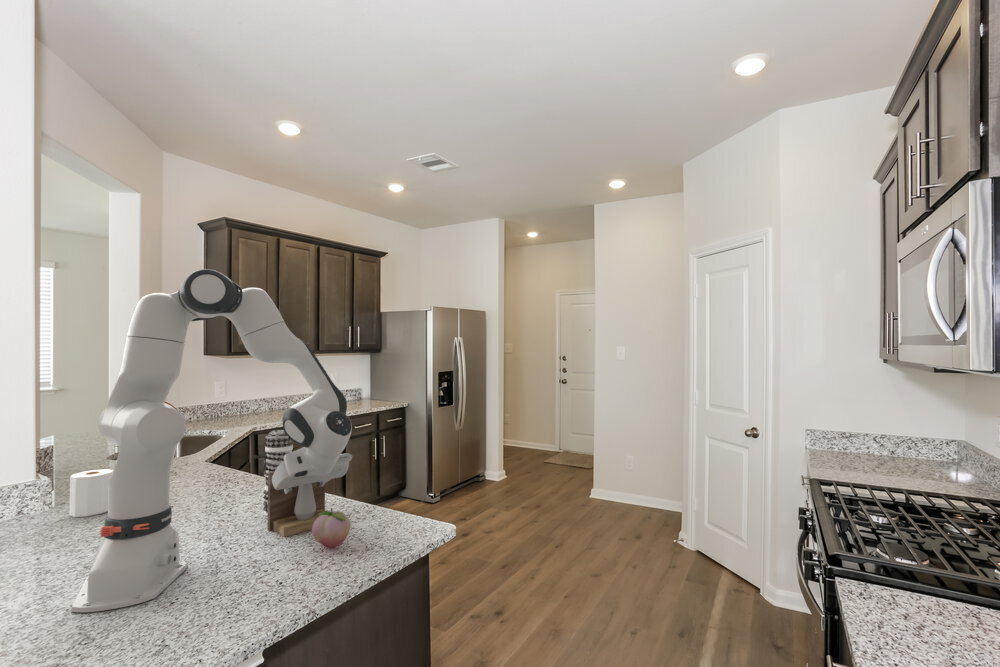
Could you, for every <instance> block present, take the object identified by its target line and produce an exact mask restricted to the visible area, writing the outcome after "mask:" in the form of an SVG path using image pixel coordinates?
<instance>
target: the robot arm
mask: <svg viewBox="0 0 1000 667" xmlns="http://www.w3.org/2000/svg"><path fill="white" fill-rule="evenodd" d="M137 302H138V303H137V304H136V307H135V310H134V311H133V313H132V317H131V320H130V324H129V326H128V330H127V331H128V332H127V336H126V340H125V344H124V345H125V346H124V349H123V355H122V360H121V363H120V369H119V373H118V376H117V379H116V381H115V384H114V387H113V389H112V391H111V393H110V395H109V398H108V401H107V404H106V406H105V408H104V409H103V411H102V412H101V413H100V416H99V418H98V423H97V426H98V427H97V428H98V429H99V432H100V434H101V435H102V437H103V438H104V439H105V440H106V441H107V442H109V443H110V444H112V445H114V446H117V447H118V452H117V454H118V455H117V458H116V463H115V466H114V469H113V470H114V472H113V474H112V476H111V477H110V479H109V487H108V511H107V516H106V517H105V518H104V519H105V520H104V523H103V526H102V527H101V529H100V530H99V531H100V532H99V534H100V537H101V538H102V537H103V538H102V539H101V540H100V541H99V546H98V547H97V550H96V553H95V555H94V558H93V561H92V563H91V566H90V569H89V573H88V575H87V577H86V578H85V579H84V582H83V583H82V585H81V587H80V589H79V591H78V593H77V595H76V597H75V599H74V600H73V602H72V604H71V610H70V612H72V613H94V612H95V613H96V612H102V611H110V610H114V609H119V608H125V607H130V606H135V605H138V604H142V603H145V602H148V601H150V600H154V599H156V598H157V597H158V596H159V595H160V594H162V592H163V591H165V590H166V589H167V588H168V587H169V586H170V585H171V584H172V583H173V582H174V581H175V580H176V579H177V578H179V576H180V575H181V574H183V573H184V572H185V571H186V570H187V569H188V568H189V567H188V563H187V561H181V560H180V559H181V557H180V536H179V531H178V530H176V529H175V528H174V527H173V526H172V525H171V522H172V516H173V511H172V506H171V505H170V494H171V493H170V491H171V490H170V488H171V473H172V472H171V470H172V467H173V466H172V465H173V461H174V459H175V455H176V450H177V447H178V444H179V443H180V442H181V441H182V439H183V437H184V436H185V433H186V430H187V423H186V418H185V417H184V415H183V414H182V413H181V412H180V411H179V410H178V409H177V408H175V407H173V406H172V405H170V404H168V403H165V402H166V400H167V398H168V395H169V392H170V390H171V388H172V387H173V385H174V383H175V382H176V381H177V379H178V378H179V376H180V372H181V368H182V360H183V354H184V350H185V343H186V336H187V333H188V332H187V331H188V329H189V325H190V324H191V322H197V321H208V320H212V319H215V318H217V317H220V316H222V317H225V318H226V319H228V320H229V321H231V323H232V325H234V327H235V329H236V331H237V333H238V337H239V338H240V340H241V342H242V344H243V346H244V348H245V349H246V352H248V353H249V355H250V356H251V357H252V358H254V359H255V360H258V361H260V362H264V363H271V364H276V363H277V364H279V363H281V364H288V365H289V364H290V365H292V366H294V367H295V368H297V370H299V372H300V373H301V375H302V376H303V378H304V379H305V381H306V382H307V384H308V386H309V387H310V388H311V390H312V395H310V396H308V397H307V398H305V399H303V400H301V401H299V402H297V403H295V404H293V405H292V406H290V407H287V409H285V410H284V412H283V415H282V428H283V430H284V432H285V433H286V435H287V436H288V437H289V438H290V439H291V440H292V442H294V443H296V444H298V445H299V446H301V448H299V449H296V450H292V451H293V452H290V453H287V454H286V455H285V456H284V462H282V463H281V464H280V465H279V466H278V467H277V469H276V470H275V472H274V474H273V476H272V483H273V486H274V488H275V489H276V490H281V489H284V492H285V494H288V493H291V492H292V488H291V487H295V486H300V485H305V484H310V483H314V482H317V485H318V487H321V486H324V484H325V485H326V483H328V482H329V481H331V480H332V479H333V480H334V479H338V478H342V477H344V476H345V475H346V474H347V472H348V470H349V468H350V462H351V460H352V459H353V454H351V453H348V452H347V453H343V451H344V450H345V448H346V447H347V444H348V443H349V440H350V439H351V435H352V429H353V425H352V421H351V419H350V417H349V416H348V415H347V414H346V413H347V409H348V408H347V407H348V403H347V402H348V401H347V398H346V397H345V395H344V393H343V392H342V390H340V389H339V388H338V386H336V385H335V383H334V382H333V380H332V379H331V377H330V376H329V374H328V373H327V371H326V369H325V368H324V367H323V365H322V364H321V361H320V360H319V359H318V357H317V356H316V354H315V353H314V351H313V350H312V348H310V346H309V345H308V344H307V342H306V341H305V340H303V339H301V338H299V337H297V336H296V335H295V334H294V333H293V332H292V331H291V329H289V327H288V326H287V324H286V322H285V320H284V319H283V315H282V314H281V312H280V310H279V309H278V308H277V306H276V304H275V303H274V300H272V298H271V297H270V295H269V294H268V293H267V292H266V290H264V289H262V288H259V287H247V288H243V289H242V287H241V286H240V285H239V284H237V283H236V282H234V281H233V279H230V278H229V277H228V276H227V275H225V274H224V273H221V272H219V271H217V270H214V269H209V268H201V269H197V270H194V271H192V272H190V273H189V274H187V275H186V276H185V277H184V279H183V280H182V282H181V285H180V287H179V289H178V290H177V291H176V292H173V293H165V292H153V293H148V294H146V295H144V296H142V297H141V298H140V299H139V301H137Z"/></svg>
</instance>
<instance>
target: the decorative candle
mask: <svg viewBox="0 0 1000 667" xmlns="http://www.w3.org/2000/svg"><path fill="white" fill-rule="evenodd" d="M264 448H265V449H263V450H262V452H263V453H262V457H263V458H264V459H263V461H262V462H263V467H262V468H263V470H264V471H263V476H264V477H265V484H264V490H263V495H264V496H263V499H264V501H263V504H262V505H263V508H262V510H263V515H264V516H265V517H268V472H272V471H275V470H276V469H277V467H278V466H279V465H280V464H281V463H282V462H284V456H285V455H286V454H287V453H290V452H293V451H294V450H293V448H294V444H293V440H291V439H290V438H289V437H288V436H287V435H286V433H285V432H284V429H276V430H275V429H274V430H272V431H269V433H268V434H267V435H266V436H265V446H264Z"/></svg>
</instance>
